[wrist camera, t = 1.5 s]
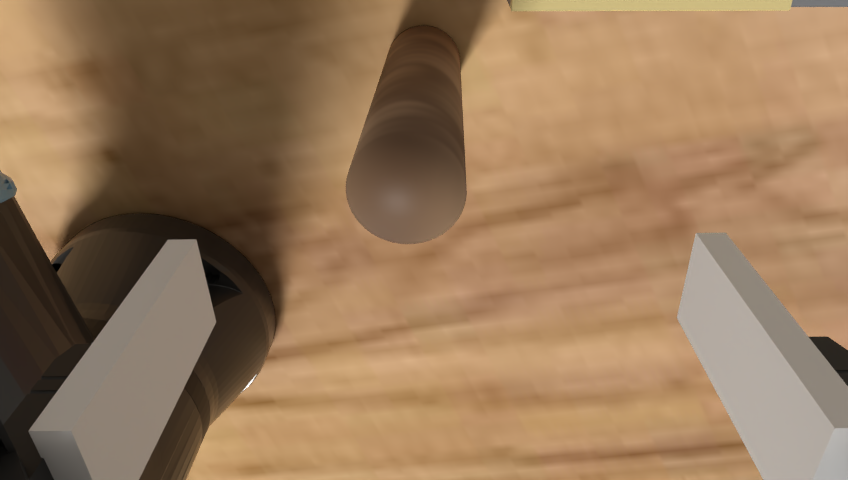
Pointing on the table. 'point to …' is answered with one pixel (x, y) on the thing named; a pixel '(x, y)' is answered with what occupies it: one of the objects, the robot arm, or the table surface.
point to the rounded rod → (412, 143)
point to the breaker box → (669, 5)
